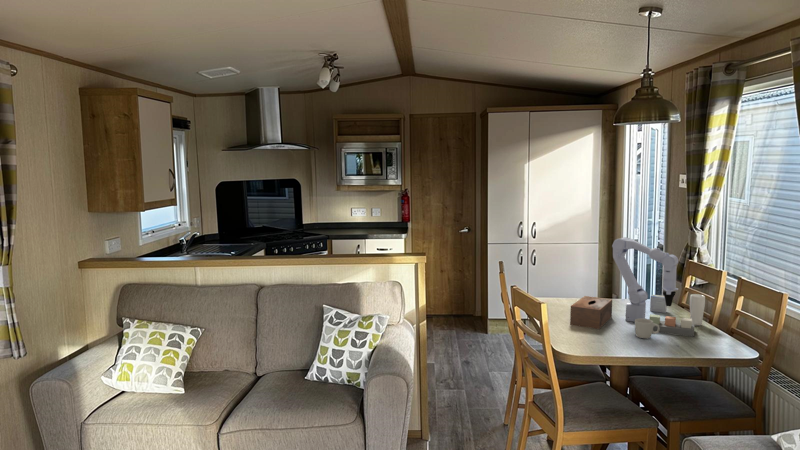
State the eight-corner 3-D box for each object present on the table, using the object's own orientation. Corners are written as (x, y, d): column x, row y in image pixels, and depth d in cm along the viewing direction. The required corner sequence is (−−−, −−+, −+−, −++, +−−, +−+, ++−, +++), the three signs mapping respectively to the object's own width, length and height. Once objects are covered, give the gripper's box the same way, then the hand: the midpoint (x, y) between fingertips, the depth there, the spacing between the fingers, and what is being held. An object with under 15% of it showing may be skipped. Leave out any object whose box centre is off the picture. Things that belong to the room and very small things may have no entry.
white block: (680, 328, 273) (681, 320, 273) (681, 325, 277) (681, 317, 277) (691, 329, 271) (691, 321, 271) (691, 327, 275) (691, 319, 275)
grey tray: (645, 330, 278) (645, 324, 278) (647, 324, 288) (648, 319, 287) (693, 336, 268) (694, 330, 268) (694, 330, 278) (694, 324, 277)
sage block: (649, 324, 280) (649, 316, 280) (650, 322, 284) (650, 314, 284) (659, 325, 278) (659, 317, 278) (659, 323, 282) (660, 315, 282)
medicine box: (666, 311, 314) (667, 296, 313) (665, 313, 310) (666, 297, 309) (651, 309, 318) (651, 294, 317) (649, 311, 314) (650, 295, 313)
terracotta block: (664, 326, 277) (665, 318, 276) (665, 323, 281) (665, 316, 280) (675, 327, 275) (675, 319, 274) (675, 325, 279) (675, 317, 278)
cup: (658, 336, 269) (659, 319, 269) (659, 341, 262) (660, 324, 261) (633, 333, 273) (634, 317, 272) (634, 338, 265) (635, 322, 265)
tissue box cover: (599, 329, 281) (599, 309, 280) (570, 325, 289) (570, 305, 288) (611, 317, 302) (612, 299, 301) (584, 313, 310) (584, 295, 309)
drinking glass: (705, 326, 284) (707, 297, 283) (690, 325, 286) (692, 296, 284) (701, 322, 291) (702, 294, 289) (686, 322, 292) (688, 293, 291)
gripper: (678, 282, 275) (677, 310, 276) (679, 277, 287) (678, 303, 289) (662, 281, 278) (661, 308, 279) (663, 276, 291) (662, 302, 292)
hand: (668, 305), depth 284 cm, fingers closed
